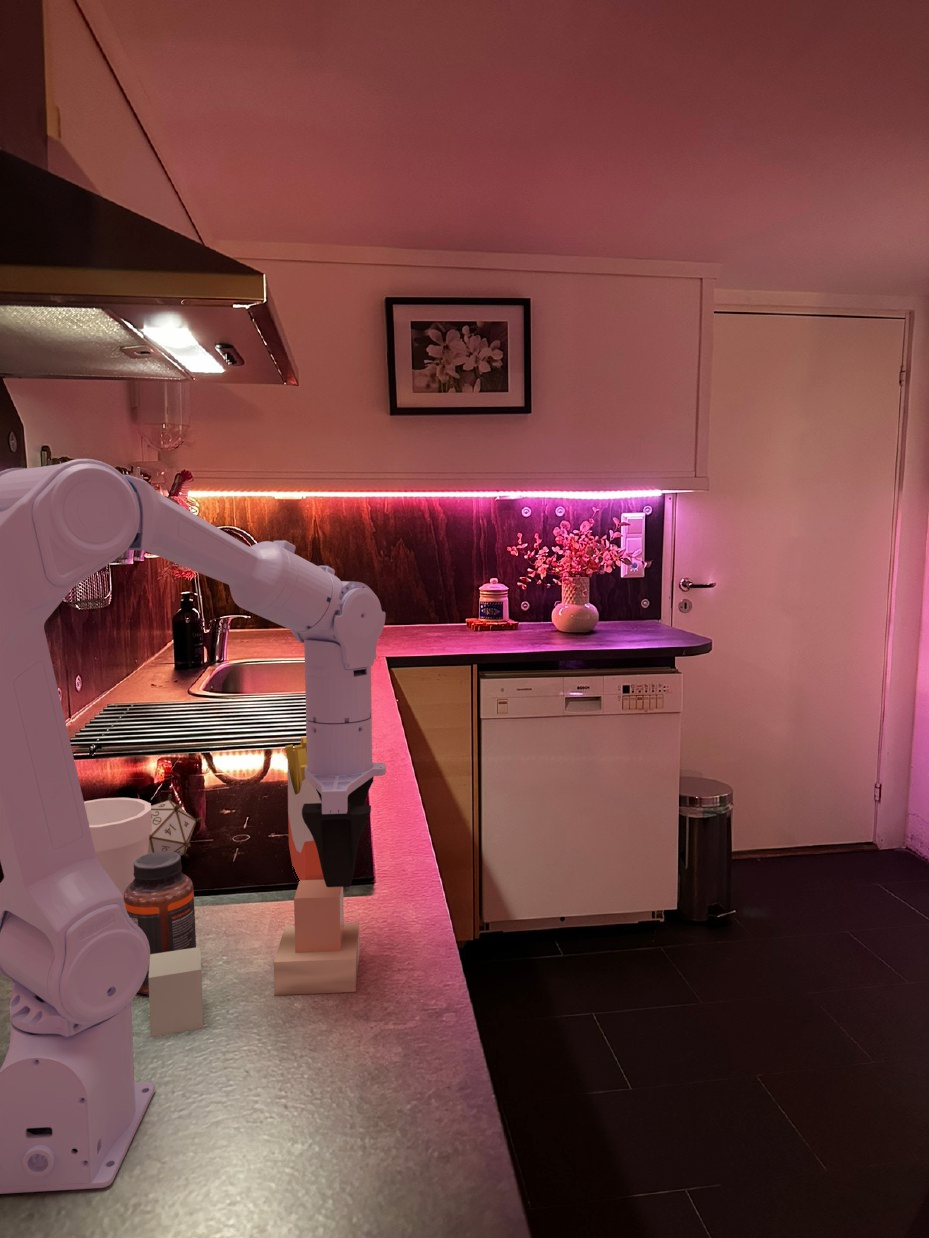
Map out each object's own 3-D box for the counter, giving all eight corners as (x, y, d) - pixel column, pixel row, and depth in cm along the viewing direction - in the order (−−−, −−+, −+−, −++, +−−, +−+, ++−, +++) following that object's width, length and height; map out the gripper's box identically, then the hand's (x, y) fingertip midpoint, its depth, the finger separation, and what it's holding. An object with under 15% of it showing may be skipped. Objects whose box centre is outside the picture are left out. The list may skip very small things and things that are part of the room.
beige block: (203, 1028, 67) (201, 969, 66) (150, 1037, 66) (148, 977, 65) (202, 1002, 71) (200, 946, 70) (152, 1011, 69) (150, 954, 69)
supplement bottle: (205, 962, 77) (201, 845, 76) (186, 997, 71) (181, 870, 70) (141, 964, 77) (136, 846, 76) (116, 998, 71) (111, 871, 70)
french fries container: (302, 898, 92) (298, 739, 90) (286, 863, 102) (282, 720, 100) (342, 891, 93) (340, 735, 92) (322, 858, 103) (320, 717, 102)
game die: (180, 892, 102) (213, 838, 98) (110, 882, 98) (141, 825, 94) (181, 837, 109) (211, 785, 106) (115, 825, 105) (145, 770, 101)
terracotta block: (340, 950, 73) (339, 896, 73) (295, 952, 73) (293, 898, 73) (343, 930, 77) (342, 878, 77) (300, 931, 77) (299, 880, 77)
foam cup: (165, 915, 88) (160, 795, 86) (144, 957, 78) (140, 824, 77) (70, 921, 86) (65, 800, 85) (38, 965, 77) (32, 830, 76)
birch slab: (355, 991, 72) (354, 958, 72) (274, 995, 72) (273, 962, 71) (359, 952, 79) (359, 922, 79) (286, 955, 79) (285, 925, 78)
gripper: (383, 734, 65) (386, 900, 66) (385, 701, 80) (387, 837, 81) (293, 737, 65) (297, 903, 66) (311, 702, 79) (314, 840, 80)
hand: (341, 867), depth 73 cm, fingers open, 7 cm apart
